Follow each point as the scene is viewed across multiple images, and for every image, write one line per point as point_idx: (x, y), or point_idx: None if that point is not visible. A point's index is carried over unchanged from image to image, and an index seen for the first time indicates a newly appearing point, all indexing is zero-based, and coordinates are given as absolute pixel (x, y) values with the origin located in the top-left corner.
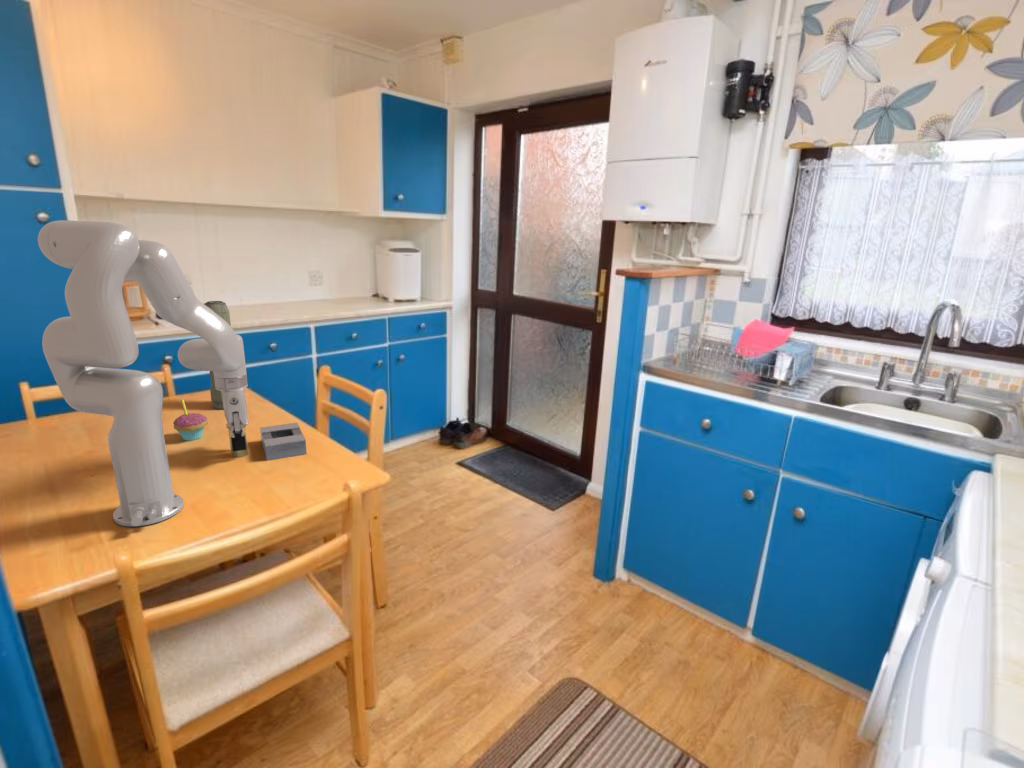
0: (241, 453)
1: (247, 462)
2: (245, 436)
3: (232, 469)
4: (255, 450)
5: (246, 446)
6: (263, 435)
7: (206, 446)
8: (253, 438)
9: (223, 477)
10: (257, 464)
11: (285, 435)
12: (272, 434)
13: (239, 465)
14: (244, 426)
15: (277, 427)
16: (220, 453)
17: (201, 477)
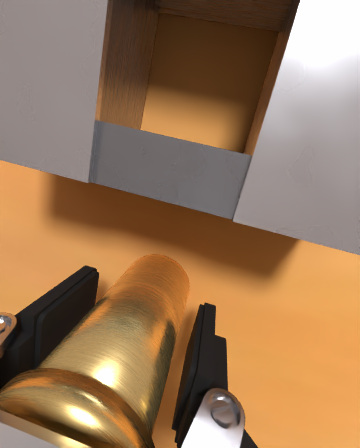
0: (186, 297)
1: (263, 294)
2: (148, 319)
3: (290, 359)
4: (151, 219)
5: (167, 282)
6: (130, 183)
7: None
8: (13, 177)
9: (342, 407)
10: (320, 272)
11: (132, 21)
12: (110, 110)
13: (270, 327)
14: (128, 411)
15: (36, 34)
16: None
17: (279, 444)
